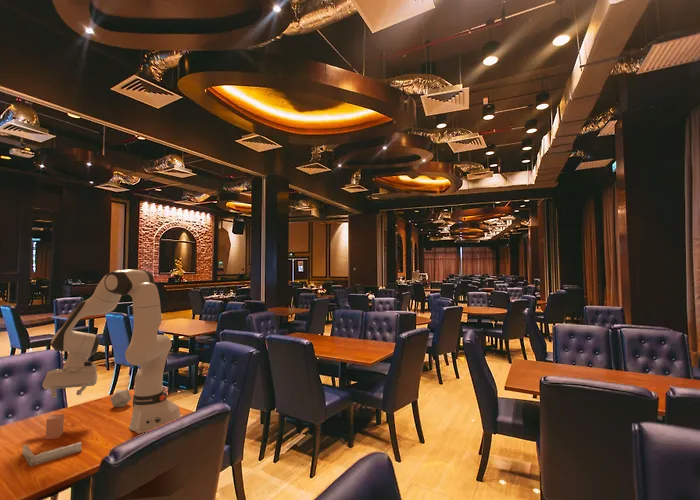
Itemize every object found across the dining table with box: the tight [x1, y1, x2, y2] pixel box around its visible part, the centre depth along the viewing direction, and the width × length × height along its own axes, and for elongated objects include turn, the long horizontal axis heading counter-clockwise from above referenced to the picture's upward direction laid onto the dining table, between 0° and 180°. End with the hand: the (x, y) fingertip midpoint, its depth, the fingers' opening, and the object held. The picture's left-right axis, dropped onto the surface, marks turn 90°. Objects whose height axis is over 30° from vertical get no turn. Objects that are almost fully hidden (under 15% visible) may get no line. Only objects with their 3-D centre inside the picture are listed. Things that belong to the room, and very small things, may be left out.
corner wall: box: [22, 441, 82, 467], centre depth 141 cm, size 14×15×3 cm
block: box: [45, 413, 65, 440], centre depth 155 cm, size 4×4×8 cm
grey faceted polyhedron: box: [109, 389, 133, 408], centre depth 189 cm, size 8×9×10 cm
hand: (65, 395), depth 166 cm, fingers open, 8 cm apart
